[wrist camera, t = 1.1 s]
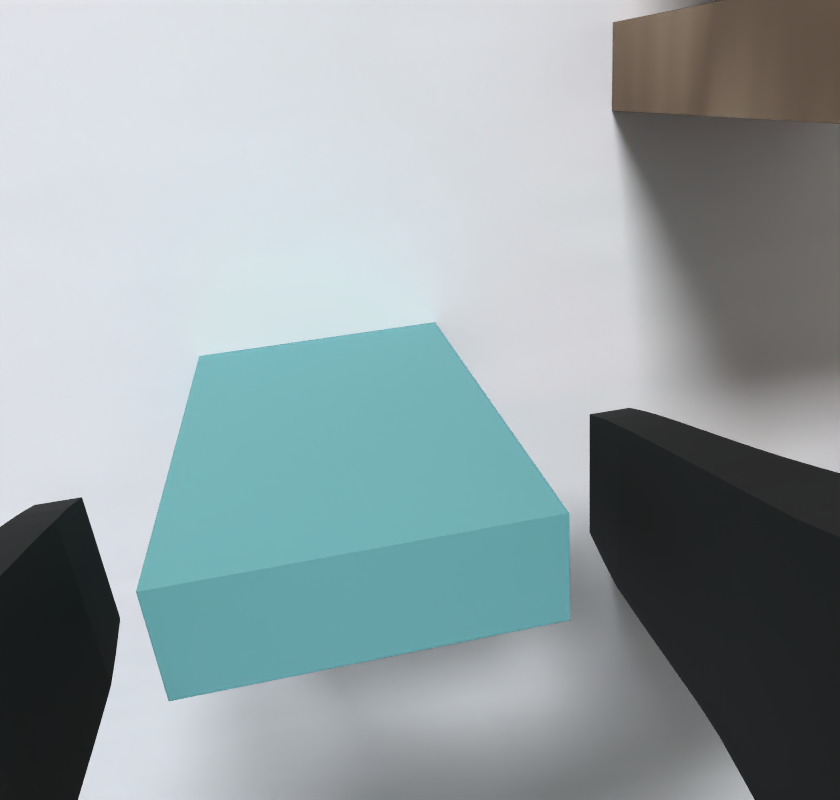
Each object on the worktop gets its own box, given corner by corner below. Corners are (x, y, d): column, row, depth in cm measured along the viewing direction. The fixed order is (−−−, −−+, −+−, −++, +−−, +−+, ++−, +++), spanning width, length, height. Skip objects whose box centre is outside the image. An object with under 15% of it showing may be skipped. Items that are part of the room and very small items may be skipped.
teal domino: (440, 390, 17) (570, 620, 10) (214, 425, 16) (168, 701, 9) (434, 322, 16) (568, 512, 9) (199, 356, 16) (136, 591, 8)
